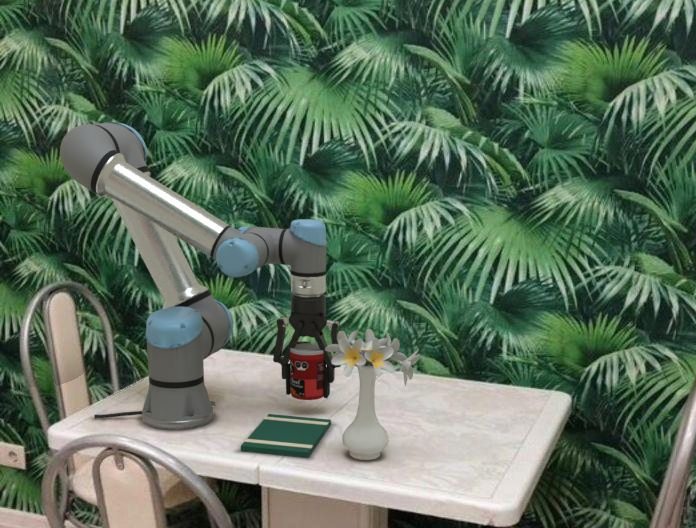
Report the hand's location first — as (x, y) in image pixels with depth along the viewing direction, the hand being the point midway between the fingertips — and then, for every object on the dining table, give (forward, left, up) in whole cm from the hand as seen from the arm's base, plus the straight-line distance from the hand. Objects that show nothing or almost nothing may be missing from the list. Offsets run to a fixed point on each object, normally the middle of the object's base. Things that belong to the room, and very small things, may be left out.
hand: (307, 394), depth 213 cm
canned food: (0, 0, 0) cm, 0 cm away
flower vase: (+18, -22, -4) cm, 29 cm away
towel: (0, -17, -4) cm, 17 cm away
